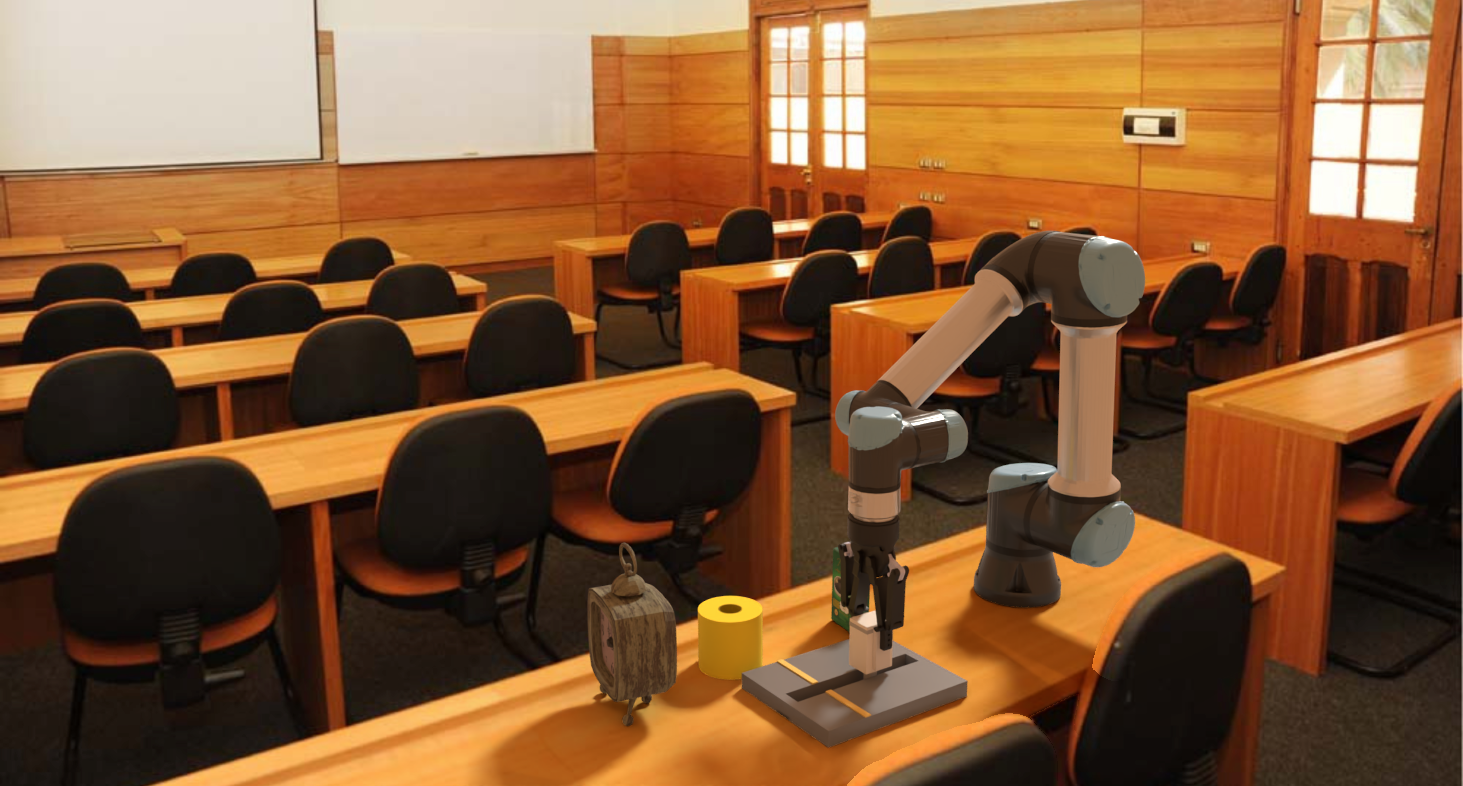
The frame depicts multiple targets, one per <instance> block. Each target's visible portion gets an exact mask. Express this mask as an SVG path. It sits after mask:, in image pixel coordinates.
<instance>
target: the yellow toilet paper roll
mask: <svg viewBox="0 0 1463 786" xmlns="http://www.w3.org/2000/svg"><path fill="white" fill-rule="evenodd" d="M763 608H764V607H763V606H762V605H761V603H760V602H758V601H757V600H755V599H752V598H749V597H745V596H739V595H723V596H722V595H721V596H716V597H711V598H709V599H706V600H705V601H702V602H701V603H700V604H699V605H698V607H697V639H698V640H697V643H698V645H697V647H698V648H697V650H698V653H697V654H698V658H697V659H698V668H699V670H700V671H701V672H702V674H705V675H707V676H708V677H711V678H715V679H717V680H718V679H719V680H731V681H732V680H734V681H735V680H742V673H743V672H746V671H749V670H753V669H756V668H759V667H762V666H764V664H763V663H764V662H763V658H764V657H763V655H764V654H763V648H764V647H763V646H764V645H763V644H764V643H763V640H764V639H763V637H764V636H763V629H764V628H763V627H764V625H763V622H764V620H763V617H764V616H763V615H764V613H763V612H764V611H763Z"/></svg>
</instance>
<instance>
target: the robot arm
mask: <svg viewBox="0 0 1463 786" xmlns="http://www.w3.org/2000/svg"><path fill="white" fill-rule="evenodd" d="M1145 272H1146V271H1145V268H1144V263H1143V261H1142V259H1141V257H1140V254H1138V252H1137V251H1136V250H1135V249H1133V246H1132V245H1130V244H1128V243H1127V242H1126V241H1122V240H1119V239H1113V238H1111V237H1107V236H1104V235H1101V236H1100V235H1092V234H1081V233H1072V232H1071V233H1070V232H1063V231H1058V230H1044V231H1039V232H1035V233H1032V234H1029V235H1027V236H1025V237H1022V238H1020V239H1019V240H1017V241H1015V242H1013V243H1012V244H1010V245H1008V246H1007V247H1006V248H1004V249H1002V250H1001V251H1000V252H999V253H997V254H996V255H994V256H993V257H992V258H991V259H990V260H988V262H987V263H986V264H984V266H982V267H981V268H980V270H979V271H977V273H975V275H974V284H973V285H972V286H971V287H970V288H968V290H967V291H966V292H965V293H964V294H963V295H962V296H961V297H960V298H959V299H958V300H957V301H955V303H954V304H953V305H952V306H951V307H950V308H949V309H948V310H947V311H946V312H945V313H944V314H943V315H941V317H940V318H939V319H937V321H935V323H934V324H933V325H932V326H931V327H930V328H928V330H927V331H926V332H925V333H924V334H923V335H922V336H921V337H920V338H918V339H917V341H916V342H915V343H914V344H913V345H912V346H911V347H910V348H909V349H908V350H906V352H904V354H902V355H901V357H900V358H899V359H898V360H896V362H894V364H892V365H891V367H890V368H889V369H887V371H886V372H884V374H883V375H881V377H880V378H878V380H876V382H875V383H873V385H872V386H870V387H869V389H867V390H866V391H865V390H856V389H855V390H852V391H849V392H847V393H845V394H844V395H843V396H842V397H841V398H840V399H839V401H838V403H837V405H836V408H835V413H834V418H835V423H836V426H837V427H838V429H839V430H840V432H841V433H842V434H843V435H846V436H847V444H848V453H847V454H848V490H847V491H848V493H847V494H848V498H847V499H848V501H847V503H848V504H847V510H848V512H849V514H848V515H847V535H846V536H847V539H848V540H849V541H846V542H842V543H838V545H837V547H838V550H839V555H840V559H841V605H842V606H843V607H847V608H848V611H849V614H850V615H851V618H852V617H855V616H859V615H862V614H863V612H864V611H868V610H869V611H870V607H869V608H868V607H867V606H866V605H867V600H868V594H869V589H870V590H871V585H872V591H873V592H872V593H873V601H874V608H875V609H874V611H875V610H876V619H877V627H874V628H873V667H872V669H873V670H875V671H877V670H880V669H883V668H886V667H889V666H890V649H891V648H892V636H893V637H894V630H897V629H899V628H903V627H904V625H905V623H904V622H905V607H906V606H905V605H906V588H907V587H906V584H907V579H908V576H909V574H910V568H909V567H908V565H903V566H902V565H901V564H900V563H899V562H898V561H897V555H896V552H895V545H896V543H897V542H898V541H899V538H900V523H901V522H900V521H901V520H900V519H901V518H900V516H899V514H900V512H901V485H902V484H901V483H902V481H901V480H902V471H905V470H910V469H913V468H918V467H919V468H920V467H923V466H927V465H932V464H937V463H945V462H946V461H949V460H952V459H954V458H958V457H959V456H961V455H962V454H963V453H964V452H965V450H966V449H967V446H968V441H969V432H968V426H967V424H966V422H965V420H964V418H963V417H962V416H961V415H960V413H958V412H957V411H956V410H953V409H947V408H946V409H945V408H944V409H940V408H939V409H935V410H933V411H925V410H924V409H923V410H922V409H919V407H920V406H921V405H922V404H923V403H924V402H925V401H926V400H927V399H928V398H929V397H930V396H931V395H932V394H933V393H934V392H935V391H936V390H937V389H938V388H939V387H940V386H941V385H942V384H943V383H944V382H945V381H946V380H947V379H948V378H949V377H950V376H951V375H952V374H953V373H954V372H955V371H956V370H957V368H958V367H960V366H961V365H962V364H963V363H964V361H966V359H968V358H969V357H970V355H972V353H973V352H974V351H976V349H977V348H978V347H980V346H981V344H983V343H984V342H985V340H986V339H987V338H988V337H990V335H991V334H993V332H995V331H996V329H998V327H999V326H1000V325H1002V323H1003V322H1004V321H1005V320H1006V319H1007V318H1009V317H1016V316H1018V315H1020V314H1021V313H1022V312H1023V311H1024V310H1025V309H1026V308H1027V307H1029V306H1032V305H1034V304H1037V303H1045V304H1049V305H1050V308H1051V309H1050V322H1051V323H1052V325H1054V326H1055V327H1056V329H1057V330H1059V332H1060V341H1059V342H1060V343H1059V345H1060V346H1059V347H1060V348H1059V349H1060V350H1059V352H1060V353H1059V386H1058V387H1059V390H1058V393H1059V394H1058V431H1057V434H1058V435H1057V467H1055V466H1054V465H1051V464H1046V463H1038V462H1022V463H1021V462H1019V463H1009V464H1006V465H1002V466H998V467H996V468H994V469H993V470H992V471H991V473H990V474H989V477H988V486H987V487H988V488H987V490H986V524H985V527H986V528H985V529H986V530H985V531H986V532H985V548H984V551H983V553H982V555H981V557H980V560H979V563H978V565H977V566H978V567H977V569H976V571H975V573H974V576H973V590H974V592H975V594H977V595H978V596H979V597H980V598H981V599H983V600H985V601H989V602H991V603H993V604H996V605H997V604H998V605H1000V606H1005V607H1013V608H1039V607H1044V606H1048V605H1051V604H1053V603H1055V602H1057V601H1058V600H1059V599H1060V597H1061V592H1062V582H1061V581H1062V580H1061V578H1060V576H1059V575H1058V569H1057V563H1056V559H1055V556H1054V554H1056V555H1059V556H1062V557H1065V558H1067V559H1069V560H1072V561H1073V562H1074V563H1076V564H1078V565H1079V564H1082V565H1087V566H1089V567H1091V568H1103V567H1106V566H1108V565H1109V566H1110V564H1112V563H1113V562H1115V561H1117V560H1118V559H1119V558H1120V557H1121V556H1122V554H1123V553H1124V551H1125V550H1126V549H1127V547H1128V546H1129V544H1130V542H1131V540H1132V538H1133V536H1134V531H1135V528H1136V516H1135V513H1134V510H1133V509H1132V508H1131V506H1130V505H1128V504H1127V503H1125V501H1121V491H1122V490H1121V488H1122V487H1121V482H1120V480H1119V479H1117V477H1116V476H1115V475H1114V474H1112V470H1113V469H1112V468H1113V467H1112V466H1113V446H1114V445H1113V444H1114V441H1113V440H1114V417H1115V416H1114V412H1115V389H1116V388H1115V387H1116V385H1115V384H1116V383H1115V382H1116V359H1117V357H1116V355H1117V333H1118V331H1119V330H1121V328H1122V327H1124V326H1125V325H1126V324H1127V323H1128V315H1130V314H1131V313H1133V312H1135V310H1136V309H1137V308H1138V307H1139V305H1140V299H1142V298H1143V295H1144V293H1145V288H1146V276H1145V275H1146V274H1145ZM848 596H851V597H849V598H848ZM867 608H868V609H867ZM864 614H865V613H864ZM885 620H886V621H885Z"/></svg>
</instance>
